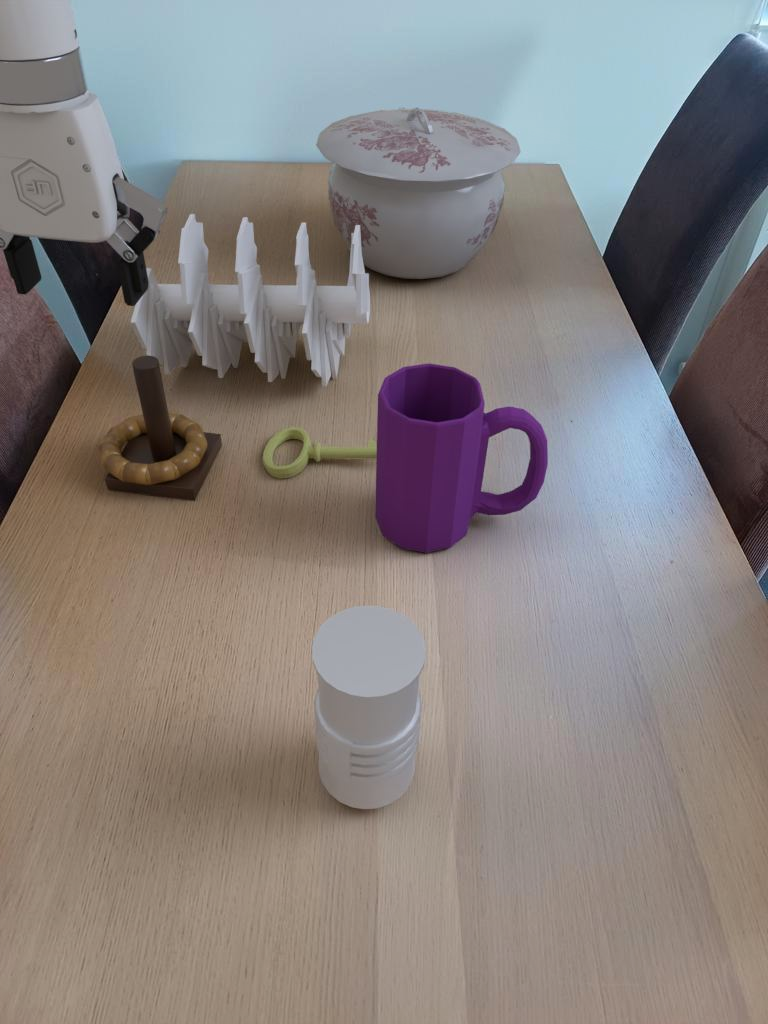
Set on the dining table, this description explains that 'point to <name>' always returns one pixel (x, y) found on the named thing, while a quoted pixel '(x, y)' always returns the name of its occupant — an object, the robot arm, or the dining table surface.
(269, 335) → the spiral staircase
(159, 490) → the peg stand
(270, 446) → the key
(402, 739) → the white lidded bottle
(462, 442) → the mug
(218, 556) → the dining table surface
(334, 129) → the chamber pot
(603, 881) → the dining table surface
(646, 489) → the dining table surface
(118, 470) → the ring
